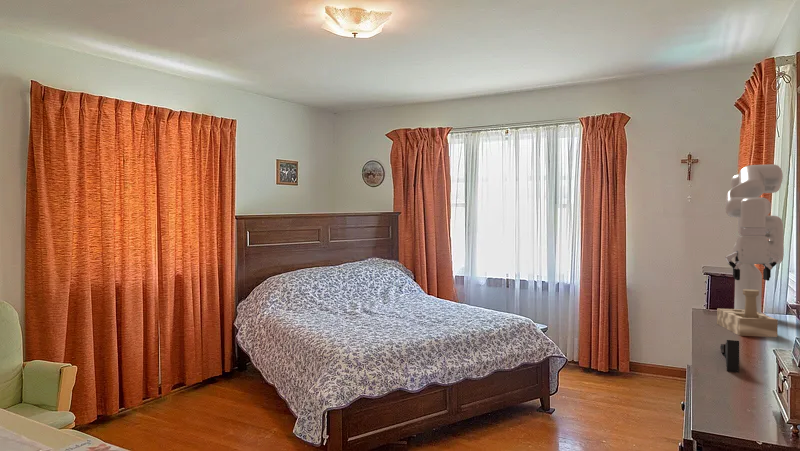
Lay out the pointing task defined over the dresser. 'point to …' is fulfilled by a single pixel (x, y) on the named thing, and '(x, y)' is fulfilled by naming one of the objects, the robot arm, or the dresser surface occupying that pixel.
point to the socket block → (747, 323)
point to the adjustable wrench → (731, 355)
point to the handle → (750, 303)
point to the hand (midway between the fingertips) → (751, 279)
